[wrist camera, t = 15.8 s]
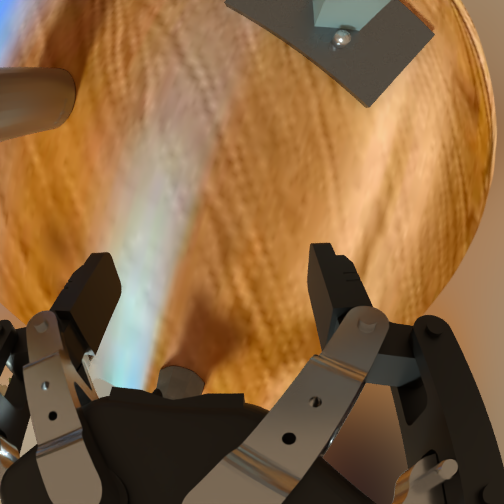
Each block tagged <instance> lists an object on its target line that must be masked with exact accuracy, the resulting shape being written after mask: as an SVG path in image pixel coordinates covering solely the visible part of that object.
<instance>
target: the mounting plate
mask: <svg viewBox="0 0 504 504" xmlns="http://www.w3.org/2000/svg"><path fill="white" fill-rule="evenodd" d="M224 3H225V4H226V6H227V7H229V8H231V9H232V10H234V11H236V12H238V13H239V14H241V15H243V16H245V17H246V18H248V19H250V20H251V21H253V22H255V23H256V24H258V25H259V26H261V27H263V28H264V29H266V30H267V31H269V32H270V33H272V34H273V35H275V36H276V37H278V38H279V39H281V40H282V41H284V42H285V43H287V44H288V45H290V46H291V47H292V48H294V49H295V50H297V51H298V52H299V53H301V54H302V55H303V56H305V57H306V58H307V59H309V60H310V61H311V62H313V63H314V64H315V65H316V66H318V67H319V68H320V69H322V70H323V71H324V72H325V73H327V74H328V75H329V76H330V77H331V78H333V79H334V80H335V81H336V82H337V83H339V84H340V85H341V86H342V87H343V88H344V89H346V90H347V91H348V92H349V93H350V94H351V95H352V96H354V97H355V98H356V99H357V100H358V101H359V102H360V103H361V104H362V105H363V106H364V107H366V108H369V107H370V106H371V105H372V104H373V103H374V102H375V101H376V99H377V98H378V97H379V96H380V95H381V94H382V93H383V92H384V91H385V89H386V88H387V87H388V86H389V85H390V84H391V83H392V82H393V81H394V79H395V78H396V77H397V76H398V75H399V74H400V73H401V72H402V71H403V69H404V68H405V67H406V66H407V65H408V64H409V63H410V62H411V61H412V59H413V58H414V57H415V56H416V55H417V54H418V53H419V52H420V51H421V50H422V48H423V47H424V46H425V45H426V44H427V43H428V42H429V41H430V40H431V39H432V37H433V36H434V35H435V34H434V33H433V32H432V31H431V30H430V29H429V28H428V27H427V26H426V25H425V24H424V23H423V22H422V21H421V20H420V19H419V18H418V17H417V16H416V15H414V14H413V13H412V12H411V11H410V10H409V9H408V8H407V7H406V6H405V5H403V4H402V3H401V2H400V1H399V0H391V1H390V2H389V3H388V4H387V5H386V6H385V7H383V8H382V9H381V10H380V11H379V12H378V13H377V14H376V15H375V16H374V17H373V18H372V19H371V20H370V21H369V22H368V23H367V24H366V25H365V26H364V27H363V28H362V29H361V30H360V31H358V30H350V29H341V28H331V27H317V26H314V11H313V0H226V1H225V2H224Z"/></svg>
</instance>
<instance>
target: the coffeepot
mask: <svg viewBox="0 0 504 504" xmlns="http://www.w3.org/2000/svg"><path fill="white" fill-rule="evenodd" d="M204 384H205V383H204V382H203V381H202V379H201V378H200V377H199V376H198V375H197V374H196V373H194V372H193V371H191V370H189V369H186V368H183V367H179V366H169V367H166V368H164V369H162V370H160V373H159V378H158V383H157V388H156V389H155V390H154V392H153V393H152V394H155V395H158V396H161V397H164V398H167V399H171V400H176V399H182V398H188V397H193V396H198V395H202V391H203V387H204Z"/></svg>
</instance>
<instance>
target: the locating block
mask: <svg viewBox="0 0 504 504" xmlns="http://www.w3.org/2000/svg"><path fill="white" fill-rule="evenodd" d="M390 1H391V0H313V11H314V26H317V27H331V28H341V29H350V30H358V31H360V30H361V29H362V28H363V27H364V26H365V25H366V24H367V23H368V22H369V21H370V20H371V19H372V18H373V17H374V16H375V15H376V14H377V13H378V12H379V11H380V10H381V9H382V8H383V7H385V6H386V5H387V4H388V3H389V2H390Z"/></svg>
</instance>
